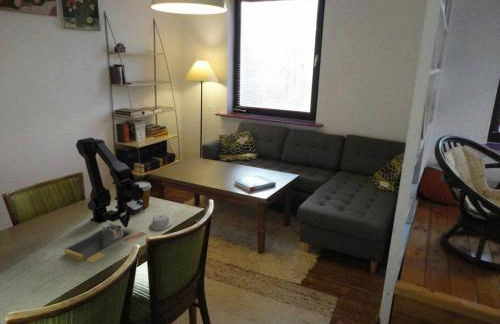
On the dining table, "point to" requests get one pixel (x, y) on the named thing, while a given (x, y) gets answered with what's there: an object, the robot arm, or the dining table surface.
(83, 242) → the shallow tray
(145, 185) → the disposable coffee cup
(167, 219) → the mechanical component
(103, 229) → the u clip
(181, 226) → the dining table surface
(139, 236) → the board
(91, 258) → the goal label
